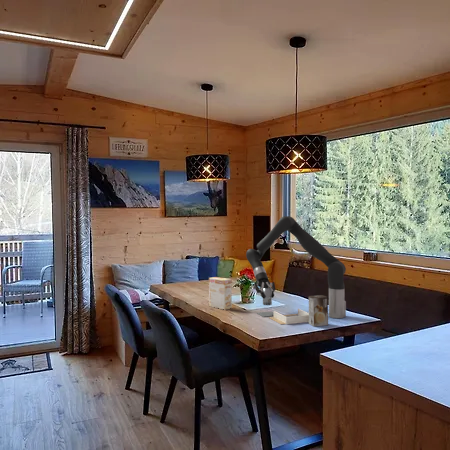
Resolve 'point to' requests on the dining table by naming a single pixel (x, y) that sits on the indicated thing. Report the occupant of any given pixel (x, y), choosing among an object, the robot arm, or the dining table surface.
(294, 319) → the white rectangular tray
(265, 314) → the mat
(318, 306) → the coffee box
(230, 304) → the coffeecake box
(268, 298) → the tin can
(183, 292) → the dining table surface
